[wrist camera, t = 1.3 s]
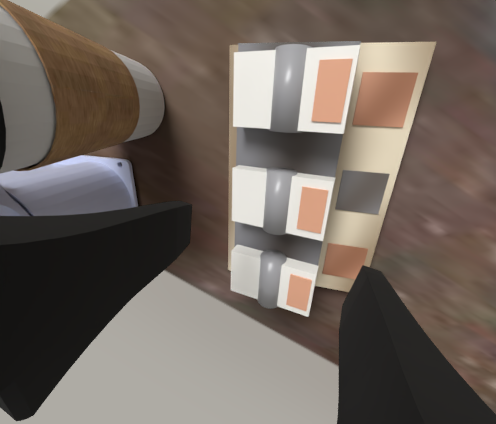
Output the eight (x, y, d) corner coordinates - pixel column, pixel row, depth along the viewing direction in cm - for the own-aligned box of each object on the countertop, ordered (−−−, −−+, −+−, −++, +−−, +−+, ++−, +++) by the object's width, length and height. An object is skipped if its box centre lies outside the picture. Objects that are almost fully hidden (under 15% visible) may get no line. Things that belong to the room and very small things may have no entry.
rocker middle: (240, 214, 17) (228, 224, 15) (241, 162, 15) (229, 167, 14) (325, 232, 15) (321, 246, 13) (336, 174, 13) (333, 181, 12)
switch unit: (232, 261, 24) (219, 287, 20) (236, 50, 17) (216, 33, 13) (358, 283, 21) (368, 317, 18) (424, 48, 14) (463, 26, 11)
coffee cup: (195, 130, 20) (-56, 163, 6) (123, 164, 22) (-155, 238, 9) (147, 18, 17) (-437, -334, 4) (73, 72, 20) (-404, -16, 7)
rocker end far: (238, 280, 19) (228, 294, 18) (239, 240, 18) (228, 252, 16) (311, 304, 17) (307, 322, 16) (319, 261, 16) (315, 276, 14)
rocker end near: (243, 127, 15) (229, 128, 13) (244, 56, 13) (230, 48, 12) (344, 134, 13) (342, 136, 11) (360, 50, 11) (361, 39, 9)
